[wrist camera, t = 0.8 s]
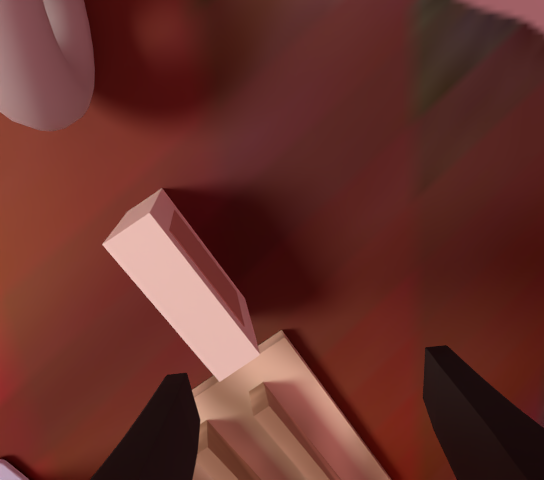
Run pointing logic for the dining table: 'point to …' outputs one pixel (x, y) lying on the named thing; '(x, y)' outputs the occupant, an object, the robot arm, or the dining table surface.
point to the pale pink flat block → (185, 283)
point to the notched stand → (277, 424)
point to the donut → (45, 62)
